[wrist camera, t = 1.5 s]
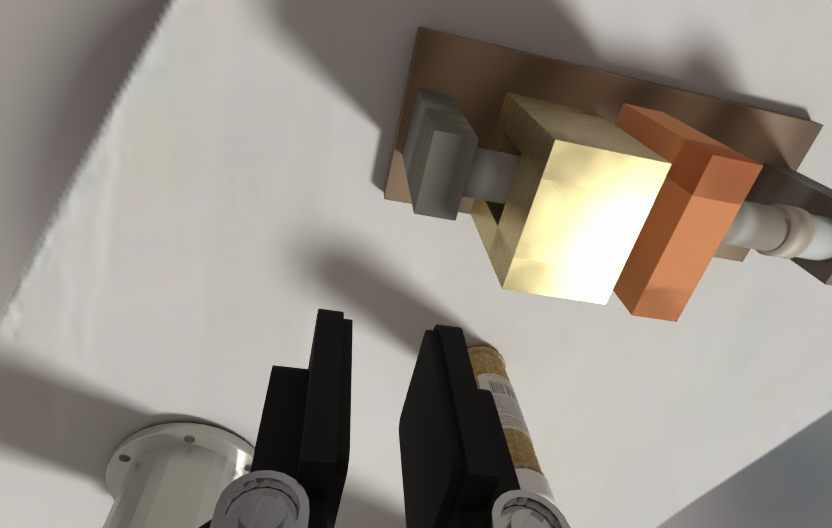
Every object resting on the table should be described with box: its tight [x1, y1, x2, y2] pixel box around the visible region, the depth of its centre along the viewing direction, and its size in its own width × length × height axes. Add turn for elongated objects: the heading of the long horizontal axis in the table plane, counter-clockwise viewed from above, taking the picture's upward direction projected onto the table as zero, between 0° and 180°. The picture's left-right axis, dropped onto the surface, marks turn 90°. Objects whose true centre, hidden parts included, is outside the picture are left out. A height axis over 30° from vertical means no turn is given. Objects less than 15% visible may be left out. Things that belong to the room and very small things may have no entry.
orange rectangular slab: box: [613, 103, 763, 322], centre depth 28 cm, size 8×2×9 cm, turn 167°
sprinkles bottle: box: [467, 346, 556, 506], centre depth 37 cm, size 5×5×13 cm
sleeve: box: [470, 92, 672, 304], centre depth 26 cm, size 7×5×8 cm
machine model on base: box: [384, 27, 832, 285], centre depth 31 cm, size 26×10×9 cm, turn 77°
